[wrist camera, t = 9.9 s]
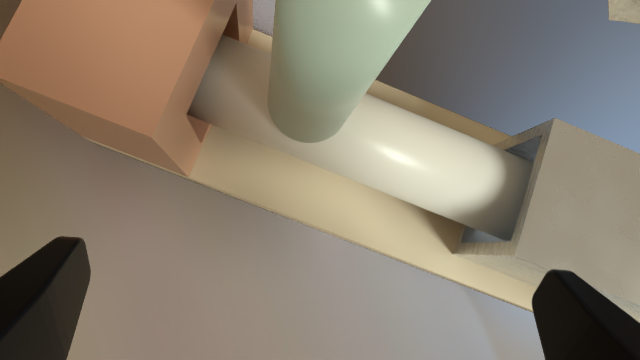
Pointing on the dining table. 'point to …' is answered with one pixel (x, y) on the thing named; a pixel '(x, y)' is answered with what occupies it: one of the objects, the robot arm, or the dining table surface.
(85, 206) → the dining table surface
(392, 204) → the base rail
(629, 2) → the condiment
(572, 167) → the sleeve
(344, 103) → the beige cradle bracket
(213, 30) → the socket
